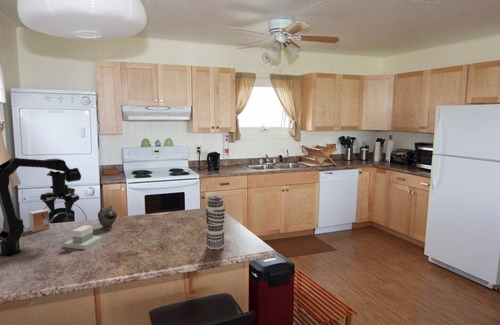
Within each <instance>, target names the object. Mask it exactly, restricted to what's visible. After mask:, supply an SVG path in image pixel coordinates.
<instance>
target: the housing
mask: <svg viewBox="0 0 500 325" xmlns="http://www.w3.org/2000/svg"><path fill="white" fill-rule="evenodd" d="M93 236H94V226H93V225H87V224H86V225H85V224H84V225H81V226H79V227H77V228H75V229H72V239H73V242H74V243H84V242H86V241H88V240H90V239H91V238H93Z"/></svg>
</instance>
